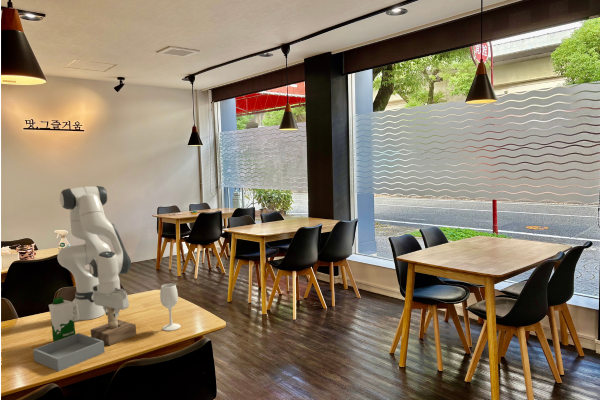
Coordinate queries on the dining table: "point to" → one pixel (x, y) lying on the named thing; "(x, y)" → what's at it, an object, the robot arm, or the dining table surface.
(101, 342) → the tray
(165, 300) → the wineglass
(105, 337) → the socket block
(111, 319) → the dowel
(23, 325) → the dining table surface
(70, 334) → the milk carton
